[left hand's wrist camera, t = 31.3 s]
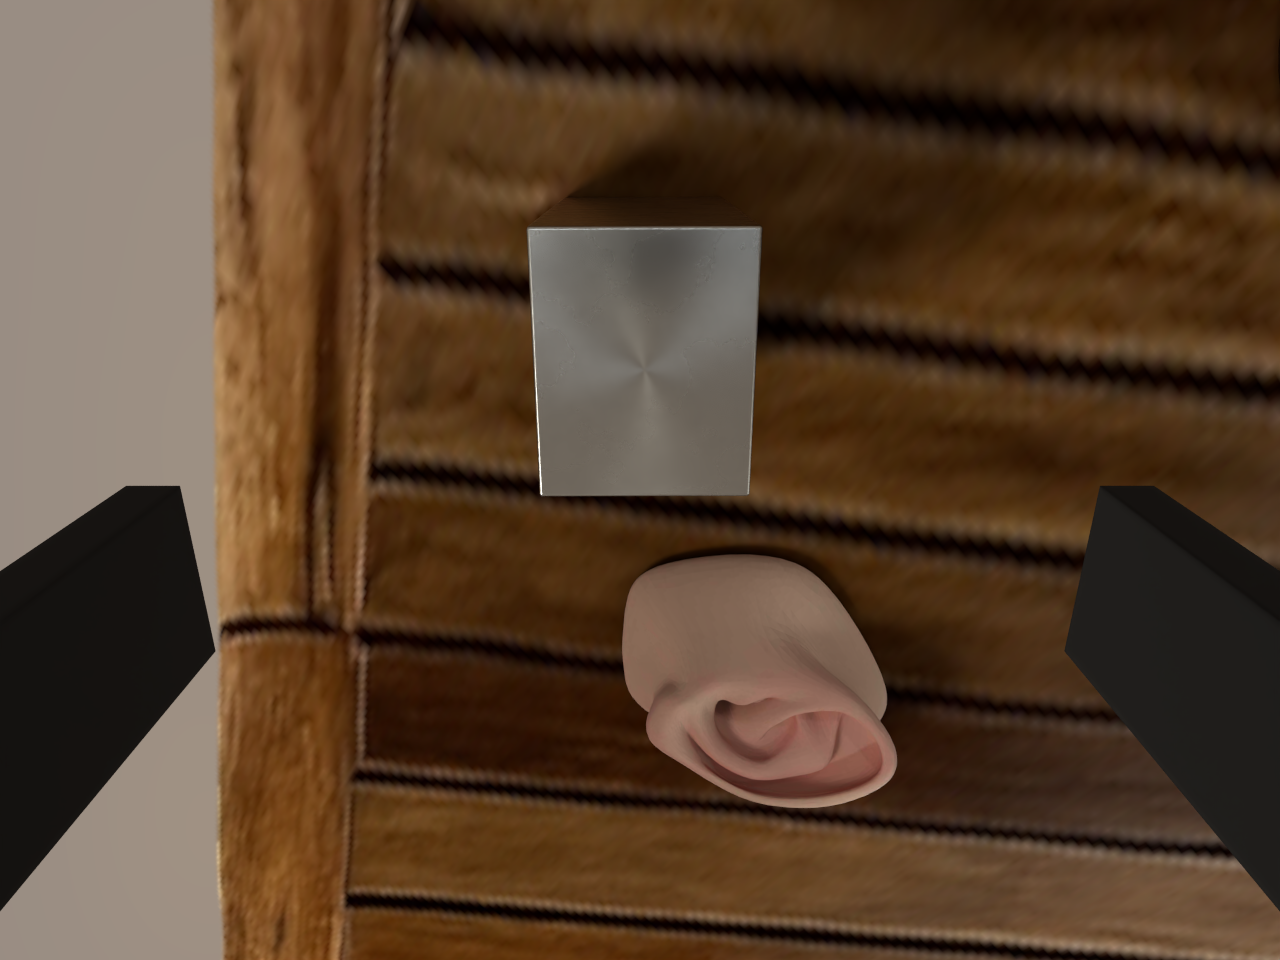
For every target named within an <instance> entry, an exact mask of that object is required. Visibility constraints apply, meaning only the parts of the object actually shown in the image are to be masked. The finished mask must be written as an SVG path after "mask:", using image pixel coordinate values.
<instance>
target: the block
mask: <svg viewBox="0 0 1280 960" xmlns="http://www.w3.org/2000/svg"><path fill="white" fill-rule="evenodd" d="M761 247H762V226H760V225H759V224H758V223H756V222H755V221H753V220H752V219H751V218H749V217H748V216H747V215H745V214H744V213H742V212H741V211H740V210H738V209H737V208H736V207H734V206H733V205H732V204H730V203H729V202H727V201H726V200H725V199H723V198H722V197H566V198H564V199H563V200H561V201H560V202H559V203H558V204H556V205H555V206H554V207H552V208H551V209H550V210H549V211H547V212H546V213H545V214H543V215H542V216H541V217H540V218H538V219H537V220H536V221H534V222H533V223H532V224H531V225H529V226H528V227H527V248H528V268H529V288H530V308H531V328H532V348H533V369H534V389H535V409H536V429H537V449H538V469H539V489H540V495H541V496H747V495H749V493H750V473H751V452H752V432H753V411H754V391H755V370H756V350H757V329H758V309H759V288H760V268H761Z"/></svg>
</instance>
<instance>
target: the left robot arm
mask: <svg viewBox="0 0 1280 960" xmlns="http://www.w3.org/2000/svg"><path fill="white" fill-rule="evenodd" d="M1279 82H1280V41H1279ZM214 652H215V647H214V642H213V637H212V633H211V628H210V623H209V619H208V614H207V609H206V605H205V600H204V596H203V591H202V586H201V582H200V577H199V572H198V568H197V563H196V559H195V554H194V549H193V544H192V540H191V535H190V531H189V526H188V521H187V517H186V512H185V507H184V503H183V498H182V493H181V489H180V486H125V487H124V488H122V489H121V490H120V491H118V492H117V493H115V494H114V495H112V496H111V497H109V498H108V499H106V500H105V501H103V502H102V503H100V504H99V505H97V506H96V507H94V508H93V509H91V510H90V511H88V512H87V513H85V514H84V515H83V516H81V517H80V518H78V519H77V520H75V521H74V522H72V523H71V524H69V525H68V526H66V527H65V528H63V529H62V530H60V531H59V532H57V533H56V534H54V535H53V536H51V537H50V538H49V539H47V540H46V541H44V542H43V543H41V544H40V545H38V546H37V547H35V548H34V549H32V550H31V551H29V552H28V553H26V554H25V555H23V556H22V557H20V558H19V559H18V560H16V561H15V562H13V563H12V564H10V565H9V566H7V567H6V568H4V569H3V570H1V571H0V911H1V910H2V908H3V907H4V906H5V905H6V904H7V902H8V901H9V900H10V899H11V898H12V896H13V895H14V894H15V893H16V891H17V890H18V889H19V888H20V887H21V885H22V884H23V883H24V882H25V881H26V879H27V878H28V877H29V876H30V875H31V873H32V872H33V871H34V870H35V869H36V867H37V866H38V865H39V864H40V862H41V861H42V860H43V859H44V858H45V856H46V855H47V854H48V853H49V852H50V850H51V849H52V848H53V847H54V846H55V844H56V843H57V842H58V841H59V840H60V838H61V837H62V836H63V835H64V833H65V832H66V831H67V830H68V829H69V827H70V826H71V825H72V824H73V823H74V821H75V820H76V819H77V818H78V817H79V815H80V814H81V813H82V812H83V810H84V809H85V808H86V807H87V806H88V805H89V803H90V802H91V801H92V800H93V798H94V797H95V796H96V795H97V794H98V792H99V791H100V790H101V789H102V787H103V786H104V785H105V784H106V783H107V782H108V780H109V779H110V778H111V777H112V775H113V774H114V773H115V772H116V771H117V769H118V768H119V767H120V766H121V765H122V763H123V762H124V761H125V760H126V759H127V757H128V756H129V755H130V754H131V753H132V751H133V750H134V749H135V748H136V747H137V745H138V744H139V743H140V742H141V740H142V739H143V738H144V737H145V736H146V734H147V733H148V732H149V731H150V730H151V728H152V727H153V726H154V725H155V724H156V722H157V721H158V720H159V719H160V717H161V716H162V715H163V714H164V713H165V711H166V710H167V709H168V708H169V707H170V705H171V704H172V703H173V702H174V701H175V699H176V698H177V697H178V696H179V695H180V693H181V692H182V691H183V690H184V689H185V687H186V686H187V685H188V684H189V682H190V681H191V680H192V679H193V678H194V676H195V675H196V674H197V673H198V672H199V670H200V669H201V668H202V667H203V666H204V664H205V663H206V662H207V661H208V660H209V658H210V657H211V656H212V655H213V654H214ZM1065 652H1066V654H1067V655H1068V656H1069V657H1070V658H1071V660H1072V661H1073V662H1074V663H1075V664H1076V666H1077V667H1078V668H1079V669H1080V670H1081V672H1082V673H1083V674H1084V675H1085V676H1086V678H1087V679H1088V680H1089V681H1090V682H1091V684H1092V685H1093V686H1094V687H1095V689H1096V690H1097V691H1098V692H1099V693H1100V695H1101V696H1102V697H1103V698H1104V699H1105V701H1106V702H1107V703H1108V704H1109V705H1110V707H1111V708H1112V709H1113V710H1114V711H1115V713H1116V714H1117V715H1118V716H1119V718H1120V719H1121V720H1122V721H1123V722H1124V724H1125V725H1126V726H1127V727H1128V728H1129V730H1130V731H1131V732H1132V733H1133V734H1134V736H1135V737H1136V738H1137V739H1138V740H1139V742H1140V743H1141V744H1142V745H1143V747H1144V748H1145V749H1146V750H1147V751H1148V753H1149V754H1150V755H1151V756H1152V757H1153V759H1154V760H1155V761H1156V762H1157V763H1158V765H1159V766H1160V767H1161V768H1162V769H1163V771H1164V772H1165V773H1166V774H1167V776H1168V777H1169V778H1170V779H1171V780H1172V782H1173V783H1174V784H1175V785H1176V786H1177V788H1178V789H1179V790H1180V791H1181V792H1182V794H1183V795H1184V796H1185V797H1186V798H1187V800H1188V801H1189V802H1190V803H1191V805H1192V806H1193V807H1194V808H1195V809H1196V811H1197V812H1198V813H1199V814H1200V815H1201V817H1202V818H1203V819H1204V820H1205V821H1206V823H1207V824H1208V825H1209V826H1210V827H1211V829H1212V830H1213V831H1214V832H1215V834H1216V835H1217V836H1218V837H1219V838H1220V840H1221V841H1222V842H1223V843H1224V844H1225V846H1226V847H1227V848H1228V849H1229V850H1230V852H1231V853H1232V854H1233V855H1234V856H1235V858H1236V859H1237V860H1238V861H1239V862H1240V864H1241V865H1242V866H1243V867H1244V869H1245V870H1246V871H1247V872H1248V873H1249V875H1250V876H1251V877H1252V878H1253V879H1254V881H1255V882H1256V883H1257V884H1258V885H1259V887H1260V888H1261V889H1262V890H1263V891H1264V893H1265V894H1266V895H1267V896H1268V898H1269V899H1270V900H1271V901H1272V902H1273V904H1274V905H1275V906H1276V907H1277V908H1278V910H1279V911H1280V571H1279V570H1277V569H1276V568H1274V567H1273V566H1271V565H1270V564H1268V563H1267V562H1265V561H1264V560H1262V559H1261V558H1260V557H1258V556H1257V555H1255V554H1254V553H1252V552H1251V551H1249V550H1248V549H1246V548H1245V547H1243V546H1242V545H1240V544H1239V543H1237V542H1236V541H1234V540H1233V539H1231V538H1230V537H1228V536H1227V535H1226V534H1224V533H1223V532H1221V531H1220V530H1218V529H1217V528H1215V527H1214V526H1212V525H1211V524H1209V523H1208V522H1206V521H1205V520H1203V519H1202V518H1200V517H1199V516H1197V515H1196V514H1195V513H1193V512H1192V511H1190V510H1189V509H1187V508H1186V507H1184V506H1183V505H1181V504H1180V503H1178V502H1177V501H1175V500H1174V499H1172V498H1171V497H1169V496H1168V495H1166V494H1165V493H1163V492H1162V491H1161V490H1159V489H1158V488H1156V487H1155V486H1100V489H1099V493H1098V498H1097V503H1096V507H1095V512H1094V517H1093V521H1092V526H1091V531H1090V535H1089V540H1088V544H1087V549H1086V554H1085V558H1084V563H1083V568H1082V572H1081V577H1080V582H1079V586H1078V591H1077V596H1076V600H1075V605H1074V609H1073V614H1072V619H1071V623H1070V628H1069V633H1068V637H1067V642H1066V647H1065Z"/></svg>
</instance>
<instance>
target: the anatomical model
mask: <svg viewBox="0 0 1280 960" xmlns="http://www.w3.org/2000/svg"><path fill="white" fill-rule="evenodd" d="M622 654H623V664H624V673H625V680H626V684H627V687H628V690H629V692H630V694H631V695H632V697H633V698H634V699H635V700H636V702H637V703H638V704H639V705H640V706H642V707H643V708H644V709H645V710H646V711H648V712H649V714H648V717H647V721H646V729H647V734H648V737H649V739H650V741H651V742H652V743H653V744H654V745H655V746H656V747H657V748H658V749H660V750H661V751H662V752H664V753H665V754H667V755H669V756H670V757H672V758H673V759H675V760H677V761H678V762H680V763H682V764H683V765H685V766H686V767H688V768H690V769H691V770H693V771H694V772H696V773H697V774H699V775H701V776H702V777H704V778H705V779H707V780H709V781H710V782H712V783H714V784H715V785H717V786H719V787H721V788H722V789H724V790H726V791H728V792H730V793H732V794H735V795H737V796H739V797H742V798H744V799H747V800H750V801H753V802H757V803H762V804H766V805H772V806H781V807H793V808H813V807H825V806H831V805H836V804H841V803H845V802H848V801H852V800H855V799H857V798H860V797H863V796H865V795H868V794H870V793H871V792H873V791H875V790H877V789H879V788H880V787H882V786H883V785H884V784H886V783H887V782H888V781H889V780H890V779H891V777H892V776H893V774H894V772H895V770H896V765H897V755H896V750H895V747H894V744H893V742H892V740H891V737H890V735H889V734H888V732H887V730H886V729H885V727H884V726H883V724H882V723H881V721H880V720H881V718H882V716H883V714H884V712H885V710H886V706H887V692H886V687H885V684H884V681H883V678H882V675H881V672H880V670H879V668H878V665H877V663H876V661H875V659H874V657H873V655H872V653H871V651H870V649H869V647H868V645H867V644H866V642H865V640H864V638H863V637H862V635H861V633H860V631H859V630H858V628H857V627H856V625H855V623H854V622H853V620H852V619H851V617H850V616H849V614H848V613H847V611H846V610H845V608H844V607H843V606H842V604H841V603H840V601H839V600H838V599H837V598H836V596H835V595H834V594H833V593H832V592H831V590H830V589H829V588H828V587H827V586H826V585H825V584H824V583H823V582H822V581H821V580H820V579H819V578H818V577H817V576H816V575H814V574H813V573H812V572H810V571H809V570H807V569H806V568H804V567H802V566H800V565H798V564H796V563H793V562H790V561H787V560H784V559H781V558H775V557H770V556H761V555H751V554H729V555H717V556H706V557H699V558H691V559H684V560H680V561H675V562H671V563H667V564H663V565H660V566H657V567H655V568H652V569H650V570H648V571H646V572H645V573H643V574H642V575H641V576H640V577H639V578H637V580H636V581H635V582H634V583H633V585H632V587H631V589H630V592H629V595H628V599H627V603H626V608H625V616H624V628H623V640H622Z"/></svg>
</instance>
